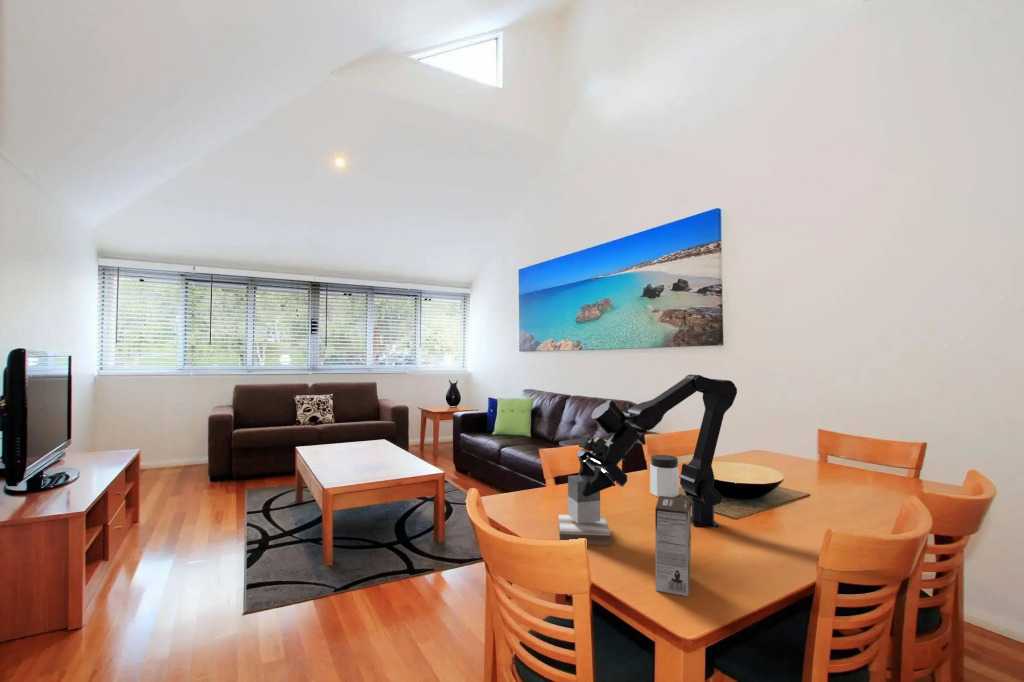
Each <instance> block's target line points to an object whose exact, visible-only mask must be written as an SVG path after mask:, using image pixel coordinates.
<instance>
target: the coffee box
mask: <svg viewBox="0 0 1024 682" xmlns="http://www.w3.org/2000/svg"><path fill="white" fill-rule="evenodd" d="M654 512H655V516H654V517H655V521H654V522H655V525H654V526H655V528H654V529H655V542H654V543H655V561H654V562H655V564H654V565H655V569H654V570H655V575H654V576H655V578H654V579H655V580H654V581H655V585H654V586H655V588H654V589H655V591H656V592H661V593H665V594H667V593H668V594H672V595H673V594H674V595H679V596H684V597H689V596H690V592H691V591H690V588H691V579H692V578H691V576H692V575H691V571H692V569H691V567H692V566H691V561H692V557H691V556H692V555H691V554H692V541H691V540H692V533H691V532H692V531H691V530H692V523H691V516H692V498H687V497H678V496H676V497H668V496H659V497H658V500H657V503H656V506H655V511H654Z"/></svg>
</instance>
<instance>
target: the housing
mask: <svg viewBox="0 0 1024 682" xmlns="http://www.w3.org/2000/svg"><path fill="white" fill-rule="evenodd" d="M592 479H593V476H592V475H590V474H588V475H578V474H577V475H568V476H567V485H568V486H567V488H568V489H567V507H568V508H567V509H568V510H567V511H568V512H567V515H568V516H570V517H571V518H572V519H573V520H574V521H575V522H577V523H587V522H596V521H600V516H601V491H599V492H596V493H594V494H592V495H590V496H587V497H585V496H584V495H583V492H584V491H585V489H586V487H587V486H588V485H589V483H590V482H591V480H592Z"/></svg>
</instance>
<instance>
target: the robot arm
mask: <svg viewBox="0 0 1024 682" xmlns="http://www.w3.org/2000/svg"><path fill="white" fill-rule="evenodd" d="M696 392H698V393H701V394H702V402H703V405H704V414H703V416H702V419H701V420H702V421H701V424H700V429H699V433H698V436H697V441H696V445H695V448H694V452H693V456H692V459H691V460H690V461H689V463H682V465H681V470H680V471H681V472H680V473H679V486H681V488H682V489H683V491H684V494H685V496H686V497H689V498H690V499H691V525H693V526H694V527H710V528H711V527H713V528H714V527H715V528H717V527H718V528H719V526H720V525H719V523H718V522H717V521H716V520H715V506H716V505H720V504H721V503H722V499H723V494H721V492H719V491H718V489H717V488H715V487H714V483H715V474H714V470H713V466H712V465H713V459H714V457H715V452H716V450H717V449H716V448H717V444H718V440H719V436H720V434H721V428H722V425H723V424H722V423H723V420H724V417H725V416H724V415H725V414H726V412H728V410H729V409H730V408H731V407H732V406H733V404H734V402H735V399H736V397H737V394H738V388H737V387H736V385H735V383H734V382H733V381H731V380H728V379H719V378H709V377H705V376H702V375H701V374H691V373H690V374H687V375H685V377H684V378H682V379H681V380H680V381H678V382H677V383H675V384H673V385H672V386H670V387H669V388H668V389H666V390H664V391H663V392H662V393H660V394H659V395H658V396H656V397H654V398H652V399H650V400H647V401H643V402H640V403H637V404H635V405H633V406H631V407H630V408H629V409H628V410H624V411H622V410H621V409H620V408H619V407H618V406H617V404H616V403H615V402H614V401H613V399H612V400H611V399H607V400H606V402H603V403H602V404H600V405H599V406H597V407H596V408H594V410H593V411H592V412H591V415H590V417H591V419H592V420H593V421H594V422H595V423H596V424H597V425H598V426H599V427H600V428H601V429H602V430H603V431H604V432H605V433H606V434H612V435H611V436H610V437H609V438H608V439H603V438H601V437H599V436H596V437H595V438H591V437H589V436H587V435H584V434H582V436H581V438H580V441H579V443H578V446H577V447H579V448H580V449H579V450H578V451H577V453H575V455H576V457H577V458H578V461H579V466H580V468H579V470H578V474H577V475H588V474H590V475H592V476H593V479H592V480H591V482H590V483H589V485H588V486H587V487H586V489H585V491H584V492H583V495H584V496H585V497H587V496H590V495H592V494H594V493H596V492H599V491H600V492H601V491H603V490H606V489H609V488H611V487H616V485H618V486H620V487H621V488H623V487H624V486H625V485H626V484H627V483H628V474H626V473H625V472H624V471H623V469H621V468H620V467H619V463H621V461H622V460H623V461H626V460H627V459H628V457H627V456H626V455H627V454H628V453H629V452H630V450H631V449H632V448H633V447H634V445H635V444H636V443H638V444H640V445H643V446H644V445H646V438H645V436H646V434H645V433H642V432H639V431H638V430H637V429H640V430H642V431H643V430H644V431H650V430H653V429H655V427H657V425H658V424H660V422H662V420H663V418H664V416H665V415H666V414H667V413H668V412H669V411H670V410H672V409H673V408H675V407H676V406H678V405H680V404H681V403H682V402H683V401H685V400H686V399H688V398H689V397H691V396H692V395H694V394H695V393H696ZM628 424H629V425H628Z"/></svg>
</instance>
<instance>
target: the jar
mask: <svg viewBox="0 0 1024 682" xmlns="http://www.w3.org/2000/svg"><path fill="white" fill-rule="evenodd" d="M650 458H651V462H650V464H649V493H650V494H652V495H654V496H655V497H657V498H659V496H668V497H678V496H680V478H679V475H680V466H679V465H678V462H679V461H678V457H676V456H673V455H671V454H670V455H669V454H654V455H651V457H650Z"/></svg>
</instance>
